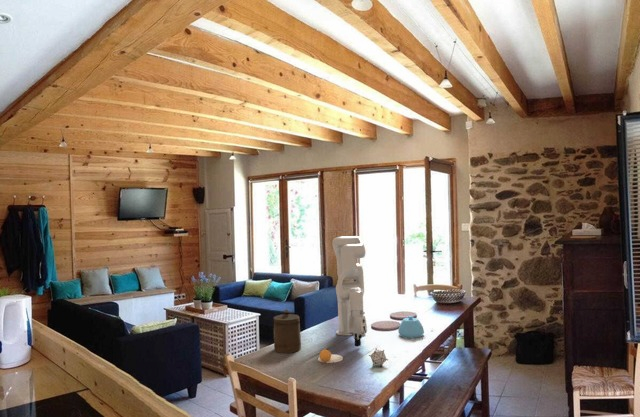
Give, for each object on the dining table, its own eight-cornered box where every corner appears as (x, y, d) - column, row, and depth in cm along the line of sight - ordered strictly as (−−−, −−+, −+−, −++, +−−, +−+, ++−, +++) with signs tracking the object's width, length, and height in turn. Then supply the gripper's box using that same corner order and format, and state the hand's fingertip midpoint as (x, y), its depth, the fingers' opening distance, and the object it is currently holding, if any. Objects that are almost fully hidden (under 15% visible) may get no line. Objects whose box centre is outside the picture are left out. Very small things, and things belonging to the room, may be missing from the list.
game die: (378, 374, 236) (369, 361, 231) (371, 363, 243) (363, 350, 239) (393, 364, 236) (385, 351, 232) (386, 353, 244) (378, 340, 239)
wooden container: (287, 344, 280) (285, 306, 280) (306, 348, 271) (305, 309, 271) (268, 350, 269) (267, 311, 269) (288, 355, 259) (286, 314, 259)
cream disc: (330, 353, 260) (329, 352, 260) (348, 358, 251) (348, 357, 251) (312, 359, 251) (312, 358, 251) (331, 364, 242) (331, 364, 242)
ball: (315, 352, 246) (318, 363, 247) (325, 354, 242) (327, 365, 243) (323, 346, 250) (325, 356, 251) (332, 348, 246) (334, 358, 247)
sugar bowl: (424, 339, 281) (423, 319, 280) (398, 338, 284) (397, 319, 283) (423, 332, 295) (423, 313, 295) (399, 331, 298) (398, 313, 298)
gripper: (371, 313, 264) (372, 346, 264) (350, 309, 274) (351, 342, 274) (362, 315, 258) (363, 350, 259) (342, 312, 269) (343, 345, 269)
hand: (357, 345), depth 267 cm, fingers closed
